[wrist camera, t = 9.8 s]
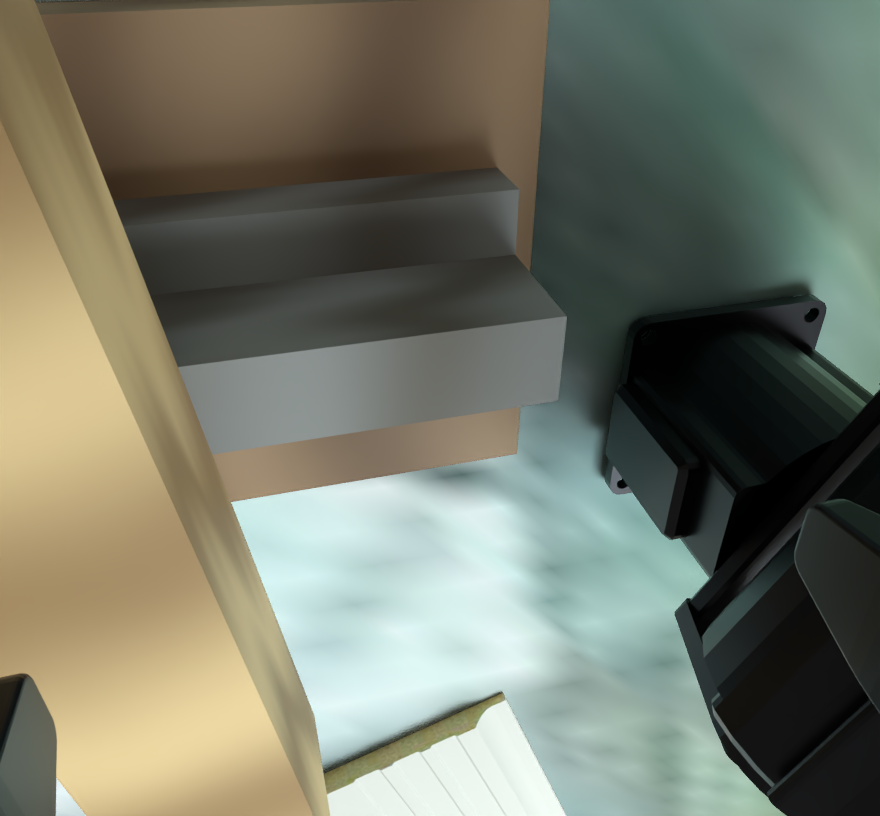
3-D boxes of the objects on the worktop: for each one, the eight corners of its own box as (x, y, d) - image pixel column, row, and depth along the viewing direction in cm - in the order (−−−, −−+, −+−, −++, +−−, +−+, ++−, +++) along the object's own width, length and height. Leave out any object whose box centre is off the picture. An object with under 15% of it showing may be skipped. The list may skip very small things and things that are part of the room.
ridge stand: (525, -15, 18) (653, 35, 13) (500, 424, 25) (578, 562, 20) (-601, 24, 13) (-1022, 121, 9) (-252, 544, 20) (-382, 757, 16)
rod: (314, 715, 21) (339, 873, 17) (176, 758, 20) (177, 930, 17) (-100, -343, 9) (-257, -455, 5) (-463, -299, 8) (-871, -392, 5)
